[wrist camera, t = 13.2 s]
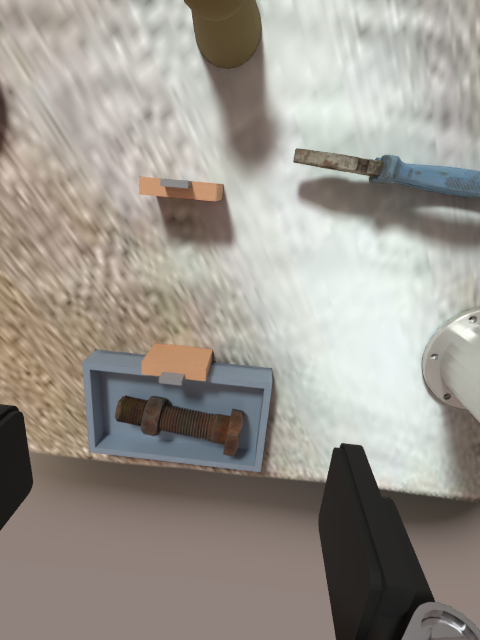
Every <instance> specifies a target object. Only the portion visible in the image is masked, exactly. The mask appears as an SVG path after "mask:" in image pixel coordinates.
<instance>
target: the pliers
mask: <svg viewBox="0 0 480 640" xmlns="http://www.w3.org/2000/svg"><path fill="white" fill-rule="evenodd" d="M293 162H294V163H300V164H305V165H311V166H316V167H321V168H326V169H332V170H338V171H344V172H351V173H357V174H361V175H367V176H370V177H369V182H374V183H392V182H395V183H398V184H402V185H406V186H409V187H414V188H418V189H422V190H427V191H432V192H438V193H444V194H449V195H456V196H463V197H472V198H480V171H475V170H468V169H461V168H453V167H443V166H431V165H416V164H406V163H403V162H402V161H401V160H400V158H399V157H398V156H393V155H384V156H382V158H376V159H375V160H370V159H363V158H358V157H353V156H347V155H341V154H335V153H328V152H320V151H313V150H306V149H297V148H296V150H295V155H294V161H293Z"/></svg>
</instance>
